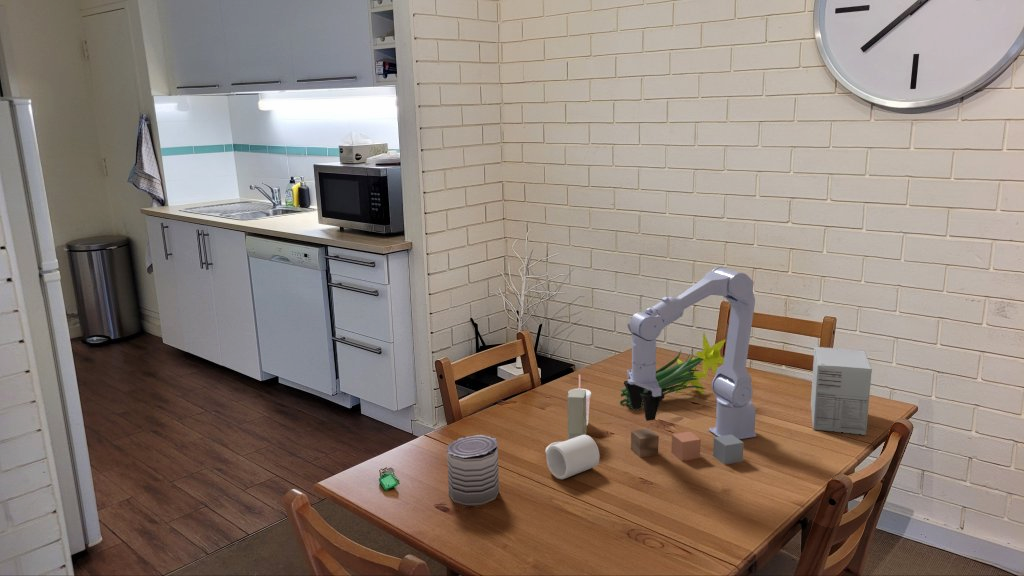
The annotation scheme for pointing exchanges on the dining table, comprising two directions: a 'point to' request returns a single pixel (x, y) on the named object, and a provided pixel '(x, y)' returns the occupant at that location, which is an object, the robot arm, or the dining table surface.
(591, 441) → the mug
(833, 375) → the supplement box
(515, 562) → the dining table surface
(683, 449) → the terracotta block
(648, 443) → the walnut block
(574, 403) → the skincare box
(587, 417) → the beverage cup
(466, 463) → the can
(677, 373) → the daffodil flowers
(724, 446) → the slate grey block
